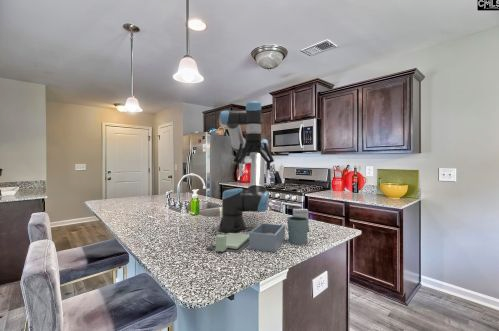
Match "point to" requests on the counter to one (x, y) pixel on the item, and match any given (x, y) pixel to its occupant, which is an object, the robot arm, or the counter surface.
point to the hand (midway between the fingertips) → (253, 176)
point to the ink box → (301, 214)
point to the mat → (231, 248)
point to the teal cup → (297, 229)
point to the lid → (230, 241)
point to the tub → (267, 237)
